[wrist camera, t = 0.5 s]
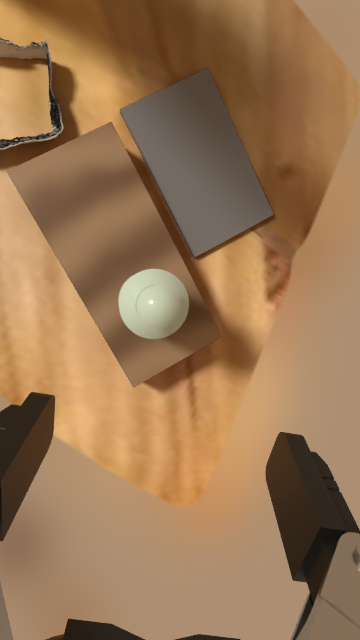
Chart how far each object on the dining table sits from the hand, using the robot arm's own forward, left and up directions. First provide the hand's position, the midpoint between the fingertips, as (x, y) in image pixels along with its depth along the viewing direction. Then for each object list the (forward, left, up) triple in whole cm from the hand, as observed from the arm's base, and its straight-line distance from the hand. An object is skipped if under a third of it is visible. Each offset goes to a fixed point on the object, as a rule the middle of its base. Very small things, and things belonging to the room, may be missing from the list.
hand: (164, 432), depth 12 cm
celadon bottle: (-3, +3, -21) cm, 21 cm away
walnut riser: (-7, +3, -25) cm, 26 cm away
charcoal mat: (-12, +15, -25) cm, 31 cm away
